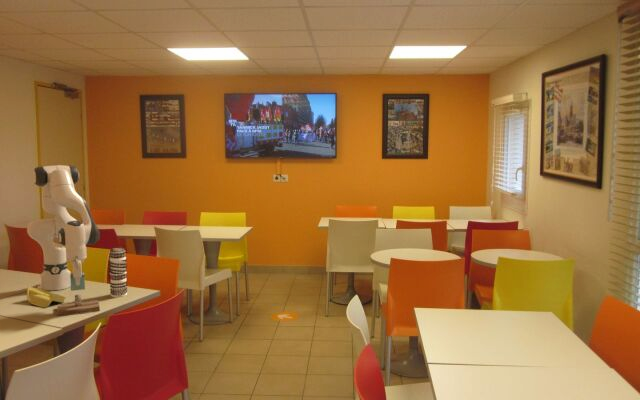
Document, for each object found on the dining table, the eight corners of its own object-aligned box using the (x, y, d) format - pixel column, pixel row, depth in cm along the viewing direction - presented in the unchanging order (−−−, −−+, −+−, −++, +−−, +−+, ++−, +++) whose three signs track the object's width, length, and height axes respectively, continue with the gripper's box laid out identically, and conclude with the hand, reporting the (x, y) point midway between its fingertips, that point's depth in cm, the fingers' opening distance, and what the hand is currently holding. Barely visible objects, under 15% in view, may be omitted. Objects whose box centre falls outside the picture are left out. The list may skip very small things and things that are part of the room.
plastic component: (67, 297, 255) (51, 293, 247) (61, 311, 253) (45, 308, 245) (42, 289, 264) (25, 285, 255) (36, 303, 262) (19, 300, 253)
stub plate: (57, 308, 245) (57, 294, 244) (97, 303, 253) (97, 289, 252) (57, 316, 233) (56, 301, 233) (99, 310, 242) (99, 296, 241)
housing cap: (70, 287, 243) (70, 273, 243) (84, 286, 246) (83, 272, 245) (70, 290, 238) (70, 276, 237) (84, 289, 241) (84, 274, 240)
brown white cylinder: (123, 291, 275) (122, 246, 273) (131, 294, 269) (129, 248, 266) (106, 294, 269) (105, 248, 266) (114, 298, 262) (112, 251, 260)
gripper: (84, 258, 233) (85, 287, 234) (82, 250, 251) (84, 277, 252) (69, 259, 230) (70, 289, 231) (68, 251, 248) (70, 279, 249)
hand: (77, 283), depth 242 cm, fingers closed on housing cap, 6 cm apart
